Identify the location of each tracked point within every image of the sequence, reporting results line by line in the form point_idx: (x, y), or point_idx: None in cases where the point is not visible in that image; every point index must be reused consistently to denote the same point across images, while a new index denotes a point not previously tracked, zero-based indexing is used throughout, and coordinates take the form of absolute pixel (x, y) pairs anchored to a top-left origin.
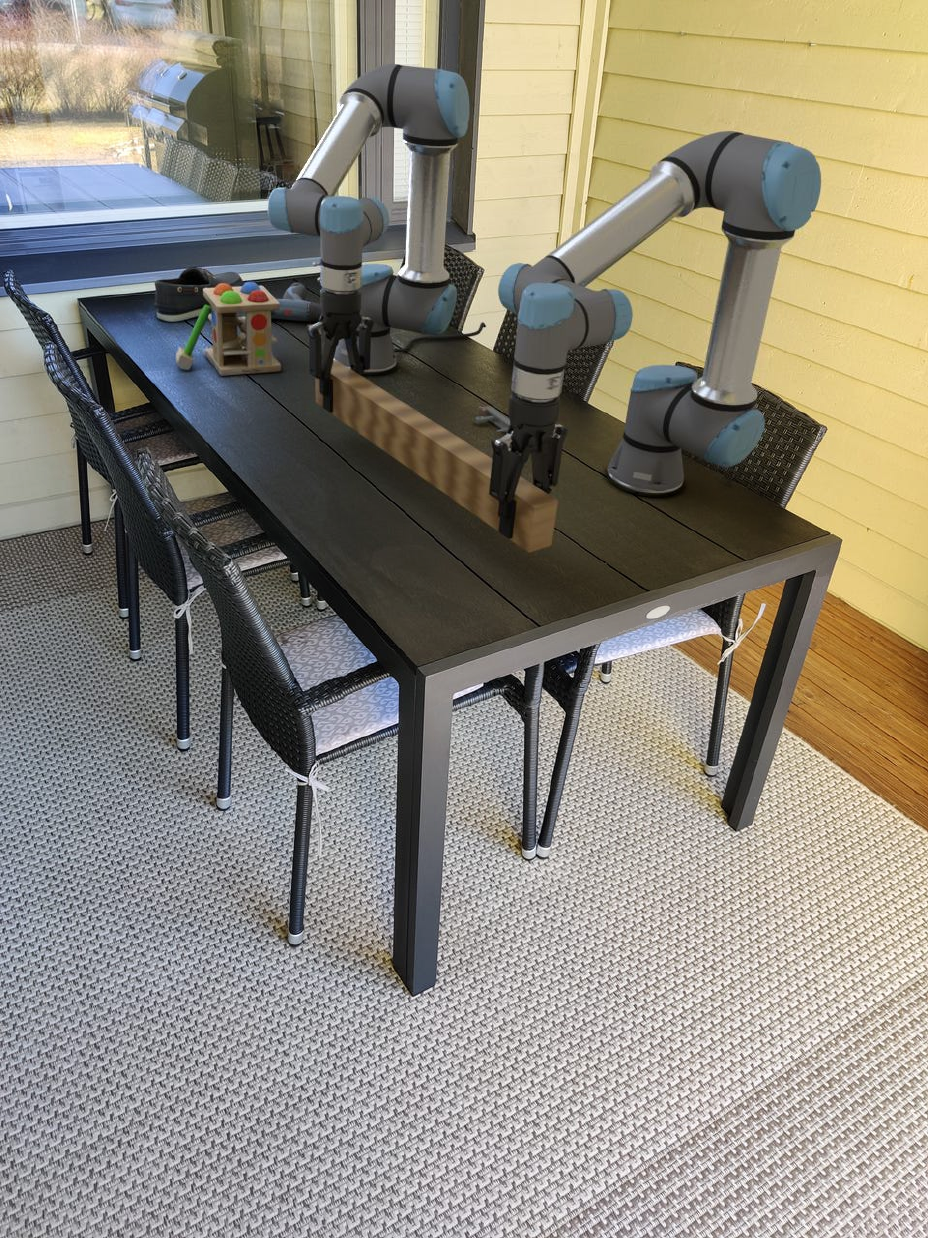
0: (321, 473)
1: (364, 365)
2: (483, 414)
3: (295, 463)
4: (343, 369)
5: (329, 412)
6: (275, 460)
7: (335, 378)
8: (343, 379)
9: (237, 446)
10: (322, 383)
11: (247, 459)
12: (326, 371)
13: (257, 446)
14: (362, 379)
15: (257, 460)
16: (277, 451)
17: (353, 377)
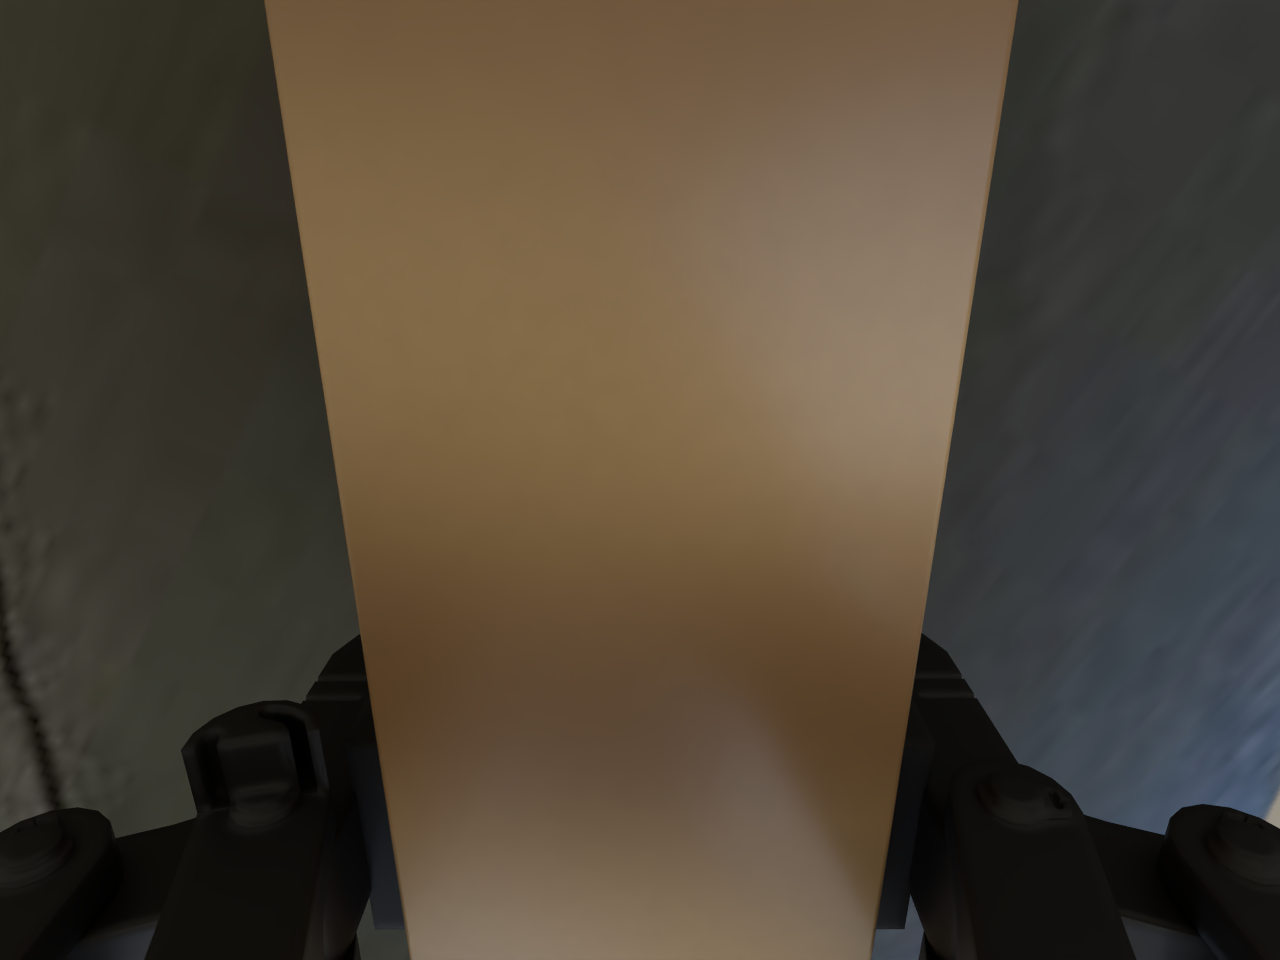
0: (1013, 92)
1: (79, 907)
2: None
3: (1058, 337)
4: (544, 950)
5: None
6: (1136, 437)
7: (892, 716)
8: (857, 550)
9: (1184, 696)
10: (1010, 760)
11: (1267, 526)
12: (1100, 910)
13: (1089, 651)
14: (427, 365)
15: (1228, 487)
16: (1035, 545)
17: (577, 556)
